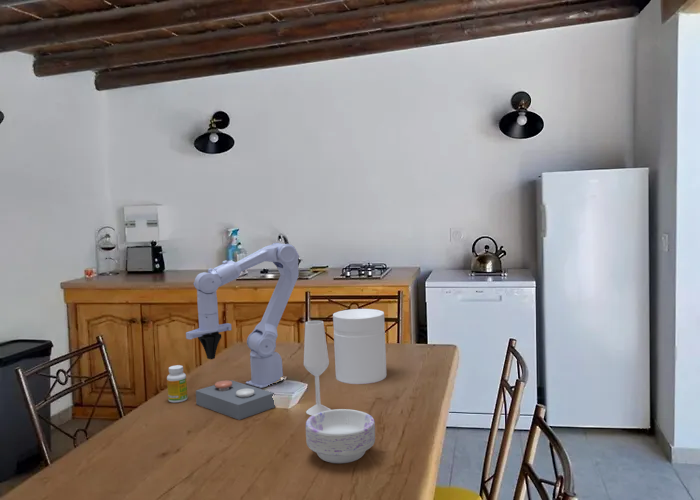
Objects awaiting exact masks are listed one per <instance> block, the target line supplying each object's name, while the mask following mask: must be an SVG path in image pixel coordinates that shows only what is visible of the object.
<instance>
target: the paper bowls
mask: <svg viewBox="0 0 700 500" xmlns="http://www.w3.org/2000/svg"><path fill="white" fill-rule="evenodd" d="M375 424H376V423H375V419H374V417H373V416H372V415H370V414H369V413H367V412H365V411H361V410H356V409H349V408H346V409H345V408H337V409H334V408H333V409H331V410H327V411H323V412H319V413H316V414H314V415H310V416H309V417H308V418H307V420H306V421H305V438H306V440H305V442H306V445H307V447H308V448H309V449H310V450H311V451H312V452H314V453H316V454H317V456H318V458H320V459H321V460H322V461H325V462H327V463H331V464H349V463H352V462H355V461H358V460H359V459H360V458H362V457H363V456H364V455H365V454H366V451H368V450H369V449H370V448H372V447H373V446H374V444H375V442H376V425H375Z"/></svg>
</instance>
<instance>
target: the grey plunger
mask: <svg viewBox="0 0 700 500" xmlns="http://www.w3.org/2000/svg"><path fill="white" fill-rule="evenodd" d="M252 395H254V390H253V389H240V390H238V391H236V396H238V397H240V398H247V397H250V396H252Z"/></svg>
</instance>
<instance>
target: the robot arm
mask: <svg viewBox="0 0 700 500" xmlns="http://www.w3.org/2000/svg"><path fill="white" fill-rule="evenodd" d="M299 258H300V255H299V253H298V251H297V249H296V248H295V246H294V245H292V244H290V243H281V242H274V243H272V244H269V245H266V246H264V247H261V248H260V249H257V251H255V252H252V253H251V254H248V255H247V256H245V257H243V258H241V259H240V260H238V261H233V260H227V259H226V260H223V261H222V262H221V263H222V264H219V265H218V266H216V267H213V268H212V267H209V268H208V269H207V272H206V271H204V272H200V273H198V274H197V275H196V276H195V278H194V282H193V287H195V289H196V297H197V298H196V299H197V302H196V303H197V313H198V315H197V317H198V328H196V329H193V330H189V331H187V332H185V339H186V340H193V339H198V340H199V342H200V343H201V345H202V347H203V349H204V352H205V355H206V358H207V359H208V360H214V359H215V358H216V354H217V350H218V345H219V343H220V341H221V339H222V334H221V333H222V332H227V331H232V323H228V322H227V323H222V324H221V323H219V307H218V297H217V294H218V293H217V291H218V289H219V287H222V286H225V285H227V284H229V283H231V282H233V281H235V280H237V279H238V278H239V277H240V275H241V272H244V271H245V270H248V269H250V268H253V267H255V266H257V265H260V264H262V263H264V262H270V263H273V264H274V265H275V266H276V269H277V271H278V272H279V278H278V280H277V283H276V285H275V286H274V287H275V288H274V290H273V292H272V294H271V297H270V298H269V302H268V304H267V306H266V308H265V310H264V311H265V312H264V313H263V315H262V318H261V321H260V322H258V323H257V324H256V325H255V327H254V329H253V330H252V332H250V334H248V336H247V339H246V345H247V347H248V349H249V350H250V353H249V357H250V358H249V360H250V362H249V363H250V376H251V379H250V380H247V381H246V382H245V384H246V385H249V386H253V387H256V388H259V389H264V388H266V387H269V386H271V385H270V384H272V383H274V382H276V381H277V380H279V379H280V377H282V376H283V377H284V374H283V371H284V370H283V360H282V356H281V355H280V354H279V352H278V351H276V347H277V342H276V341H277V338H278V335H279V334H278V326H279V324H280V321H281V320H282V316H283V314H284V311H285V309H286V306H288V305H287V304H288V301H289V300H290V297H291V295H292V292H293V291H294V287H295V285H296V283H297V280H298V278H299V276H300V275H299V274H300V272H299ZM268 385H269V386H268ZM272 385H273V384H272Z"/></svg>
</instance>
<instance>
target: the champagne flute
mask: <svg viewBox="0 0 700 500" xmlns="http://www.w3.org/2000/svg"><path fill="white" fill-rule="evenodd" d="M304 323H305V324H304V345H303V347H304V349H303V350H304V351H303V367H304V368H305V370H306V371H307V372H309V373H310V374H311V375H312V376H314V387H315V404H314V405H313V406H311V407H309V408H308V409H307V410H306V411H305V413H306V414H307V415H309V416H312V415H314V414H316V413H319V412H323V411H327V410H332V409H331V408H329V407H327V406H325V405H323V404H322V403H321V386H320V376H321V375H323V373H324V372H326V370H327V368H328V367H329V364H330V360H329V353H328V347H327V338H326V331H325V326H324V325H325V324H324V321H323V320H309V321H306V322H304Z"/></svg>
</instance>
